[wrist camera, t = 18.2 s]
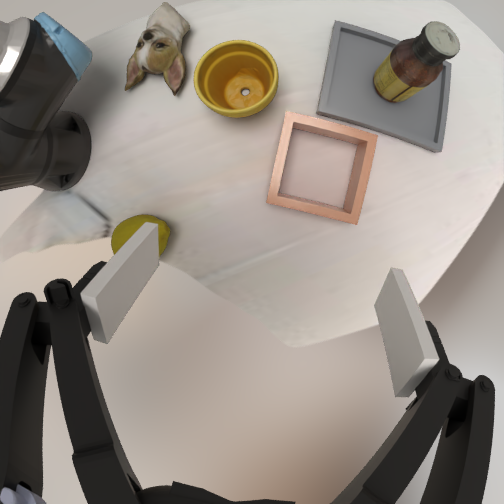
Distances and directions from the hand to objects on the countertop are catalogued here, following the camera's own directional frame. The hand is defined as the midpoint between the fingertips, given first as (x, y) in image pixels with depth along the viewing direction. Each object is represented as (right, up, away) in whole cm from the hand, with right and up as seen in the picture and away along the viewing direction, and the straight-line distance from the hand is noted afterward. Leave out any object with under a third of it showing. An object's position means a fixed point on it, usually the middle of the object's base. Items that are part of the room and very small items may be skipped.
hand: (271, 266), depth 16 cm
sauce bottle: (+20, +26, +21) cm, 39 cm away
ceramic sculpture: (-15, +33, +24) cm, 44 cm away
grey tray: (+20, +26, +22) cm, 39 cm away
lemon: (-18, +4, +33) cm, 37 cm away
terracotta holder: (+9, +13, +27) cm, 31 cm away
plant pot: (-2, +25, +25) cm, 35 cm away
